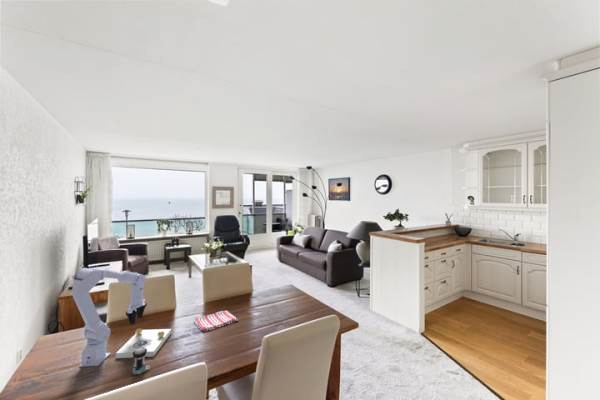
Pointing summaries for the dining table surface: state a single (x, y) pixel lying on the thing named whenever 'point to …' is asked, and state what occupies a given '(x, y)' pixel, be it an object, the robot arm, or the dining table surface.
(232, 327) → the dining table surface
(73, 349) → the dining table surface
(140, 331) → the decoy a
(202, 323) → the dish towel
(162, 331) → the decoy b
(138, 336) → the plate
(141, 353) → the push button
